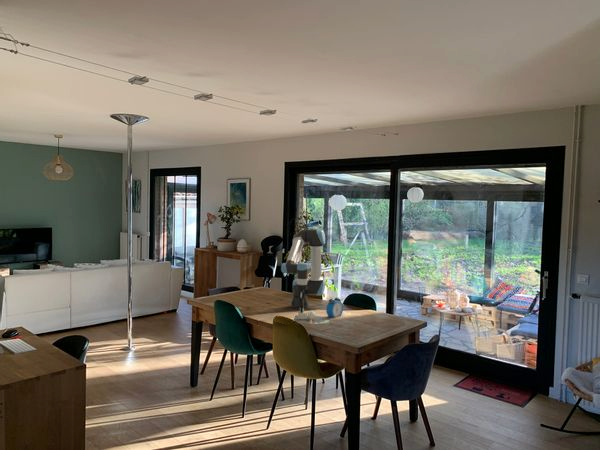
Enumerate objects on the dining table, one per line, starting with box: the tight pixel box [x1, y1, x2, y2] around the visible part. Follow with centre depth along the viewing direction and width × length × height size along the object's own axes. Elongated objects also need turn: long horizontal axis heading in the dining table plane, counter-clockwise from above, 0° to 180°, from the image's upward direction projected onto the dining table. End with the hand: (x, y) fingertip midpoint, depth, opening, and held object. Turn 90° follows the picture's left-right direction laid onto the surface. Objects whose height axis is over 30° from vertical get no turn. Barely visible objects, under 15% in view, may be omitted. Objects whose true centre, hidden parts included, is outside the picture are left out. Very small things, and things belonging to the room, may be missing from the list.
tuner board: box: [293, 314, 331, 325], centre depth 333 cm, size 24×26×2 cm
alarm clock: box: [325, 297, 344, 318], centre depth 346 cm, size 13×6×15 cm, turn 136°
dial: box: [297, 309, 317, 325], centre depth 330 cm, size 16×13×6 cm
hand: (301, 316), depth 337 cm, fingers closed
